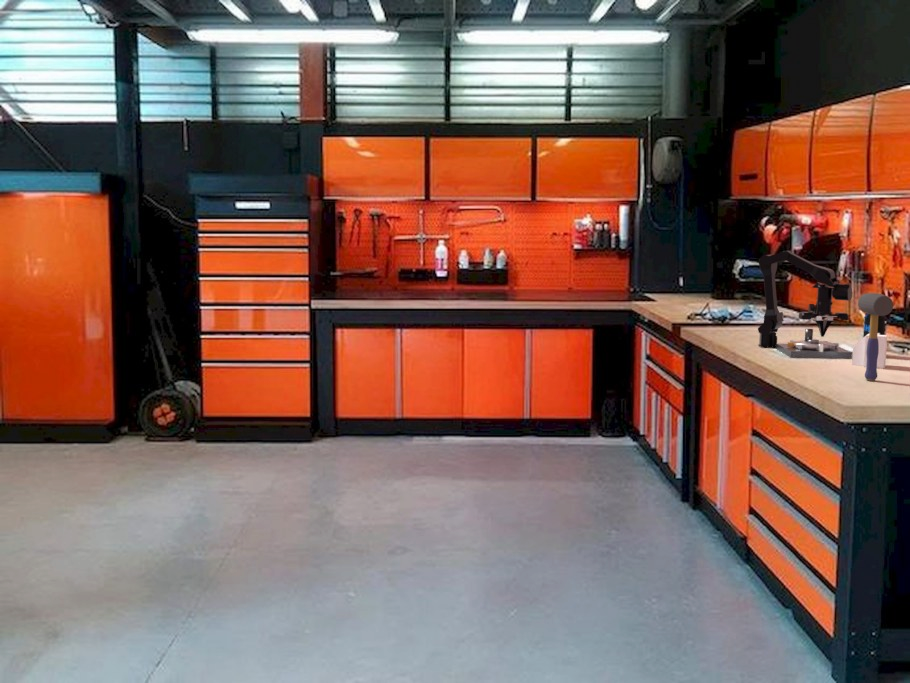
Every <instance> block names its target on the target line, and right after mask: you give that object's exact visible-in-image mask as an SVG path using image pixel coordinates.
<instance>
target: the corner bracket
mask: <svg viewBox="0 0 910 683" xmlns="http://www.w3.org/2000/svg"><path fill="white" fill-rule="evenodd" d="M877 338H878V343H879V353H878V358H877V369H881V370H883V369H885V368H886V363H887V362H886V360H887V347H888V346H887V345H888V335H887V334H884V335H880V333H877ZM868 339H869V334H867V335H866V336H865V337H864V338H863V337H862V338H861V339H860V340H859V341H858V342H855V344H854V345H852V346H853V347H852V358H851V360H852V361H851V364H852V366H861V367H863V368H866V366H867V354H866V351H867V343H868Z"/></svg>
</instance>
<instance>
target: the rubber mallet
mask: <svg viewBox="0 0 910 683" xmlns="http://www.w3.org/2000/svg"><path fill="white" fill-rule="evenodd" d="M857 306H858V309H859V310H860V311H862V312H863V313H865V314H871V318H870V332H869V339H868V343H867V351H866V354H867V366H866V367H865V373H864V377H865V380H866V381H868V382H874V381H876V380H877V379H878V370H877V369H878V368H877V358H878V353H879V343H878V338H877V333H878V316H885V317H886V316H888V315H889V314H890V313H891V312H892V311H893V310H894V301H893V300H892V299H891V297H889V296H888V295H885V294H882V293H877V292H876V293H875V292H865V293H863V294H861V295H860V297H859V298H858V301H857Z"/></svg>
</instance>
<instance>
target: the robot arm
mask: <svg viewBox="0 0 910 683" xmlns="http://www.w3.org/2000/svg"><path fill="white" fill-rule="evenodd" d="M784 262H788V263H790V264H791V265H792V266H793V265H794V266H796V267H797V268H799V269H801V270H802V271H805V272H807V273H808V274H810V276H812V277H813V278H814V279H815V280H816V283H815V284H814V285H813V286H812V289H817V295H816V296H817V297H816V302H815V304H814V303H809V304H808V308H807V310H808V311H800V312H799V313H798V319H799V320H812V321H813V322H815V324H816V325H817V327H818V331H819V333H820V334H819V335H820V337H821V338H823V337H825V335H826V333H827V331H828V329H829V327H830V326H831V324H832V323H835V320H834V319H837V320H841V321H849V319H850V318H849V314H848V313H847V312H843V311H842V312H840V311H835V313H833V311H832V305H833V300H832V299H834V300H836V301H848V302H849V301H851V300H852V298H853V289H852V284H851V283H845V284H843V283H840V281H839V280H838V279H837V278H836V274H835V271H834V270H833V269H831V268H829V267H825V266H821V265H818V264H816V263H813V262H811V261H809V260H807V259H805V258H804V257H801V256H799V255H798V254H796V253H794V252H792V251H791V250H783V251H781V252H778V253H775V254H765V255H762V256H760V258H759V259H758V266H759V270H760V272H761V274H762V276H763V284H764V296H765V297H764V299H765V300H764V301H765V312H764V315H763V323H762V324H760V325H759V327H757V331H758V333H759V342H758V347H760V348H776V344H778V336H777V333H778V331H779V329H780V328H781V327H782V325H783V323H784V321H785V320H784V316H783V315H784V312H783V311H781V312H780V311H779V308H778V298H777V297H778V296H777V286H776V273H777V269H778V264H781V263H784Z"/></svg>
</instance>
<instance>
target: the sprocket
mask: <svg viewBox="0 0 910 683" xmlns="http://www.w3.org/2000/svg"><path fill="white" fill-rule="evenodd" d="M804 330H805V331H804V339H802V340H793V339H792V340H789V341H788V342H787V344H788V347H795V348H798V349H812V350H818V348H819V344H823V350H828V349H832V350H837V348H838V347H840V346H839V345H840V344H839V343H838V342H831V341H828V340H819V339H813V337H814V328H805V329H804Z"/></svg>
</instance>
